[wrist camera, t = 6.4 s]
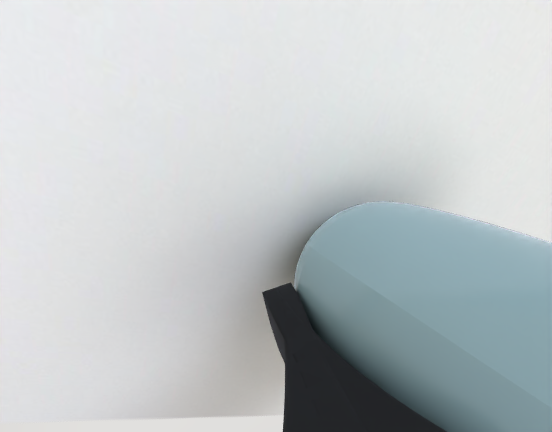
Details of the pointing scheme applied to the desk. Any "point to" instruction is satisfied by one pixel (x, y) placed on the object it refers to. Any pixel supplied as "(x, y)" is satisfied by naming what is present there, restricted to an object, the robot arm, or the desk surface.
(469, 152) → the desk surface
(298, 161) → the desk surface
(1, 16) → the desk surface
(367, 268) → the cup
